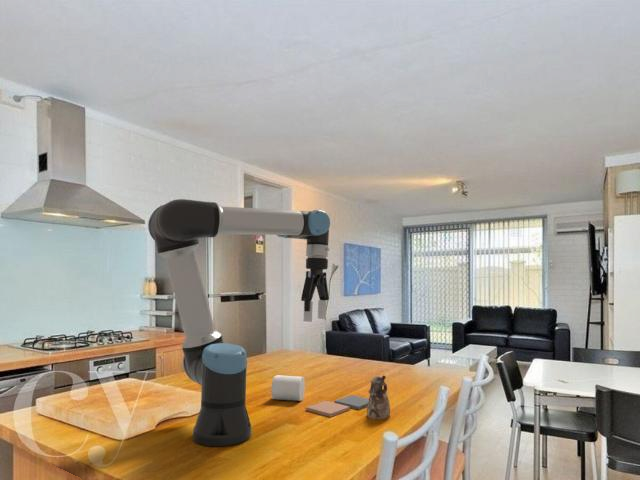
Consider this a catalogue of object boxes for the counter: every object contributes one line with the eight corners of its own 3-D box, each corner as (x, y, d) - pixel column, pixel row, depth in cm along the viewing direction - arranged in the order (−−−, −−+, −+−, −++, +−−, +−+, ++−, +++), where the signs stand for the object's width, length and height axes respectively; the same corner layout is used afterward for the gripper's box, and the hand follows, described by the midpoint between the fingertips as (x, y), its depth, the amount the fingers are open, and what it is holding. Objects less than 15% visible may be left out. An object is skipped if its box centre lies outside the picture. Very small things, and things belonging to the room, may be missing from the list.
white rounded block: (299, 403, 149) (299, 379, 149) (270, 401, 151) (271, 377, 151) (307, 394, 161) (307, 372, 161) (280, 392, 163) (281, 370, 163)
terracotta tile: (330, 417, 135) (330, 413, 135) (305, 410, 141) (306, 407, 141) (349, 409, 142) (349, 406, 143) (325, 403, 149) (325, 400, 149)
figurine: (362, 413, 139) (362, 374, 140) (382, 411, 142) (382, 372, 143) (374, 420, 132) (374, 379, 133) (394, 417, 135) (394, 377, 136)
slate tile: (358, 409, 143) (358, 406, 143) (334, 403, 149) (334, 400, 149) (375, 403, 150) (375, 400, 150) (351, 397, 157) (351, 394, 157)
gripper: (314, 255, 140) (312, 323, 138) (338, 259, 163) (336, 318, 161) (292, 255, 142) (290, 322, 140) (319, 259, 166) (317, 317, 164)
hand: (315, 320), depth 151 cm, fingers open, 13 cm apart
